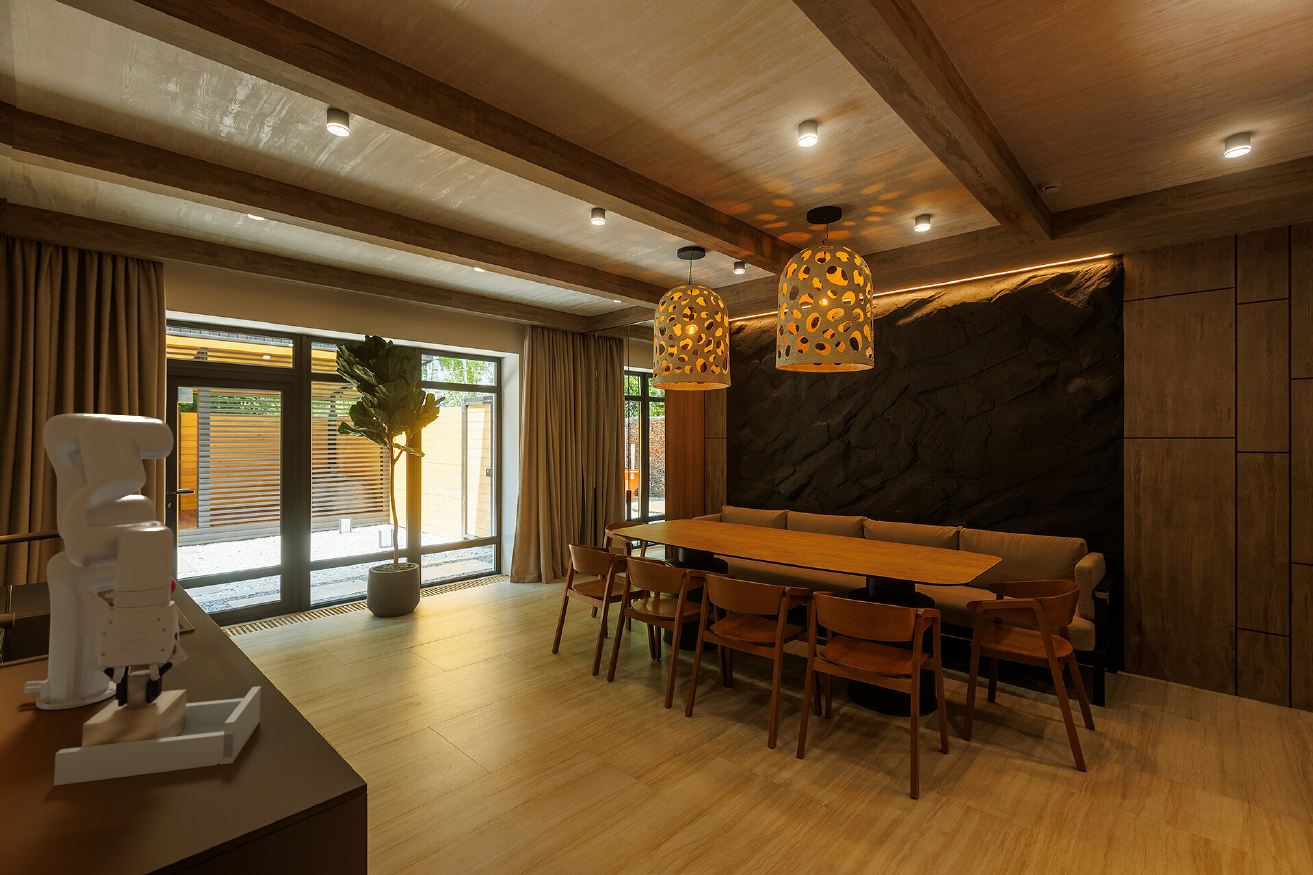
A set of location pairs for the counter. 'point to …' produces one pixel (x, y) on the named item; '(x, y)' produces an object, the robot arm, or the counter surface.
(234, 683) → the counter surface
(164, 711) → the wooden block with knob
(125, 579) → the robot arm
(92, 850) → the counter surface
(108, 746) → the bay
